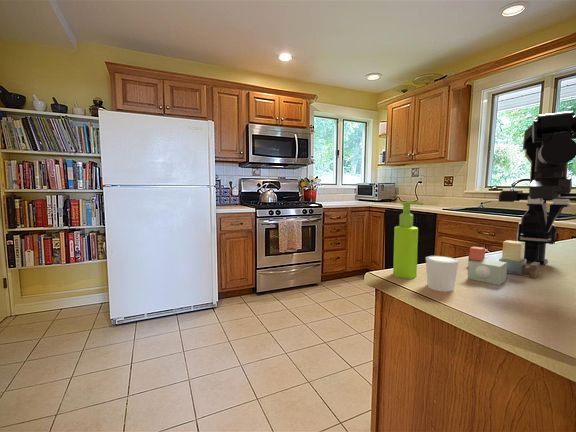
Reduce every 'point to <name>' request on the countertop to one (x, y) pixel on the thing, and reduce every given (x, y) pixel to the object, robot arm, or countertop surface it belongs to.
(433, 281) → the white cup
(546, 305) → the countertop surface
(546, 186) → the robot arm
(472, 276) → the cabinet
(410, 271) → the soap dispenser
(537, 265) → the brown i-shaped bar
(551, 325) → the countertop surface
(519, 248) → the carriage
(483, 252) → the red cube
